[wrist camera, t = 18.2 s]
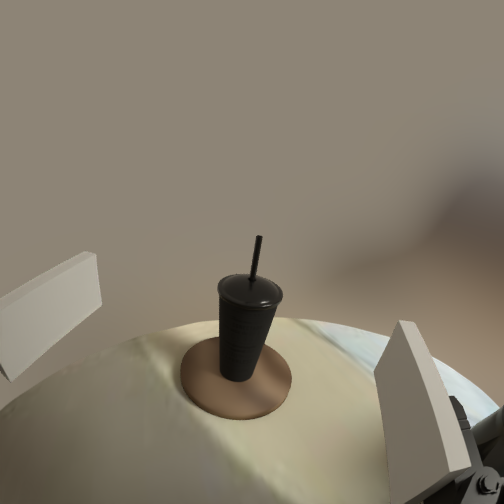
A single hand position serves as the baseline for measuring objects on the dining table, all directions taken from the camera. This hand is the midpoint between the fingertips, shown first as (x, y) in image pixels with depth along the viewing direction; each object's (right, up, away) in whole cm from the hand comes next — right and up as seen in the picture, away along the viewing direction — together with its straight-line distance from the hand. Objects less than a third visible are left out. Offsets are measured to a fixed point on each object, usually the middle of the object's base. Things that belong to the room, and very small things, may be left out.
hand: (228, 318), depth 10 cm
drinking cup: (-1, -14, +26) cm, 30 cm away
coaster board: (-1, -16, +26) cm, 31 cm away
